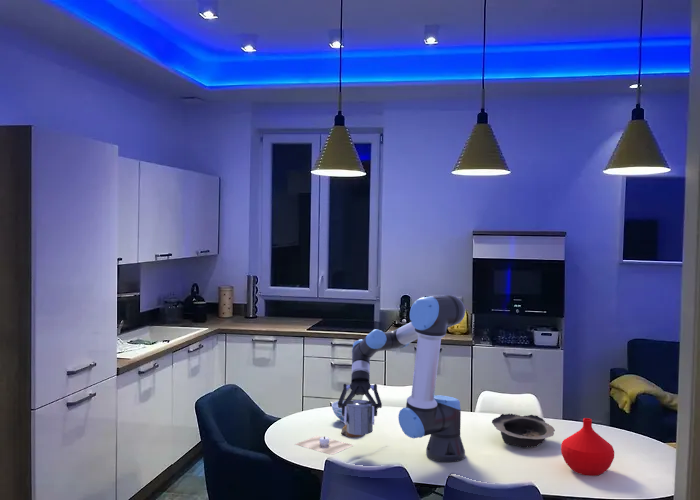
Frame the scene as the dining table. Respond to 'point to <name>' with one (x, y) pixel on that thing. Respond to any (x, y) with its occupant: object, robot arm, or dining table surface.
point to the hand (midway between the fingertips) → (359, 422)
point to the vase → (587, 451)
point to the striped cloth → (331, 449)
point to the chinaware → (338, 410)
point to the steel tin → (359, 417)
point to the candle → (324, 441)
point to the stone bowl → (523, 429)
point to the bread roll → (344, 431)
